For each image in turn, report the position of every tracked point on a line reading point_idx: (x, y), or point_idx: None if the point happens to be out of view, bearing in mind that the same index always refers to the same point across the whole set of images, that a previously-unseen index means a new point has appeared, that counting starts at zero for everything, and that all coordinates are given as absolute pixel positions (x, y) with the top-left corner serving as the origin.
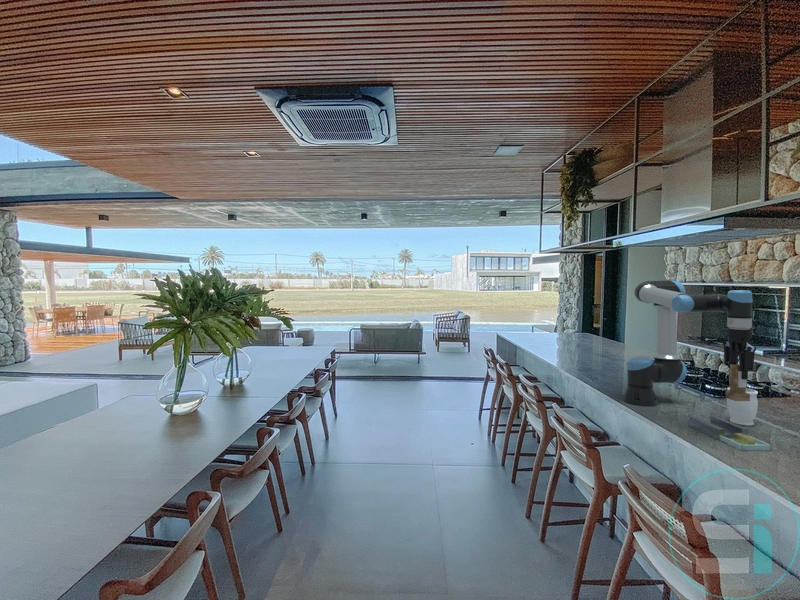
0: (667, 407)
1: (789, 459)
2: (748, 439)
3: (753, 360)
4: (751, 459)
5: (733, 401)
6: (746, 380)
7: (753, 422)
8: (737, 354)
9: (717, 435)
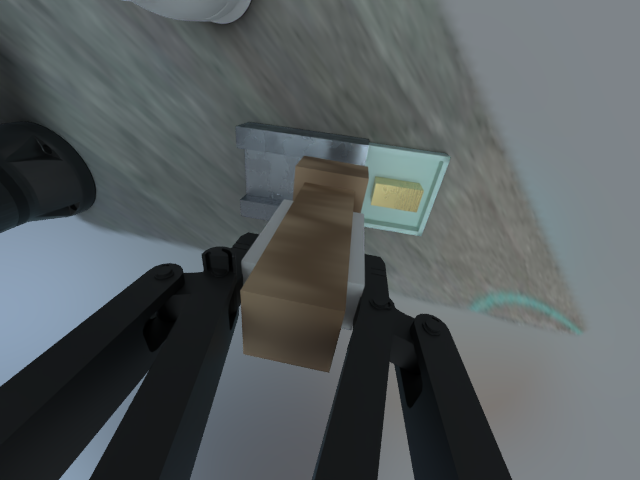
0: (86, 126)
1: (504, 167)
2: (417, 208)
3: (504, 472)
4: (460, 252)
5: (177, 13)
6: (363, 237)
7: None
8: (173, 459)
9: None
